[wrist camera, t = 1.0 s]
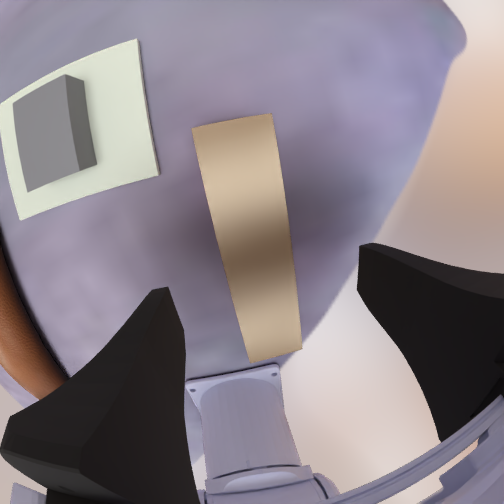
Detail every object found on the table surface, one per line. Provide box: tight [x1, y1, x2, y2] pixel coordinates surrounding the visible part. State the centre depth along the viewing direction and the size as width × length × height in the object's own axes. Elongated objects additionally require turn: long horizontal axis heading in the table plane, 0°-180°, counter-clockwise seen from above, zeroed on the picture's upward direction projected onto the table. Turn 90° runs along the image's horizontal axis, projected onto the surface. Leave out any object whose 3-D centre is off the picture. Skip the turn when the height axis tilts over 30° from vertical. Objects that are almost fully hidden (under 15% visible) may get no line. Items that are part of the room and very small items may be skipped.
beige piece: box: [191, 113, 302, 363], centre depth 14 cm, size 12×3×5 cm, turn 10°
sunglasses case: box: [0, 245, 68, 400], centre depth 14 cm, size 18×7×7 cm, turn 4°
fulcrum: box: [0, 39, 160, 221], centre depth 10 cm, size 8×10×3 cm
